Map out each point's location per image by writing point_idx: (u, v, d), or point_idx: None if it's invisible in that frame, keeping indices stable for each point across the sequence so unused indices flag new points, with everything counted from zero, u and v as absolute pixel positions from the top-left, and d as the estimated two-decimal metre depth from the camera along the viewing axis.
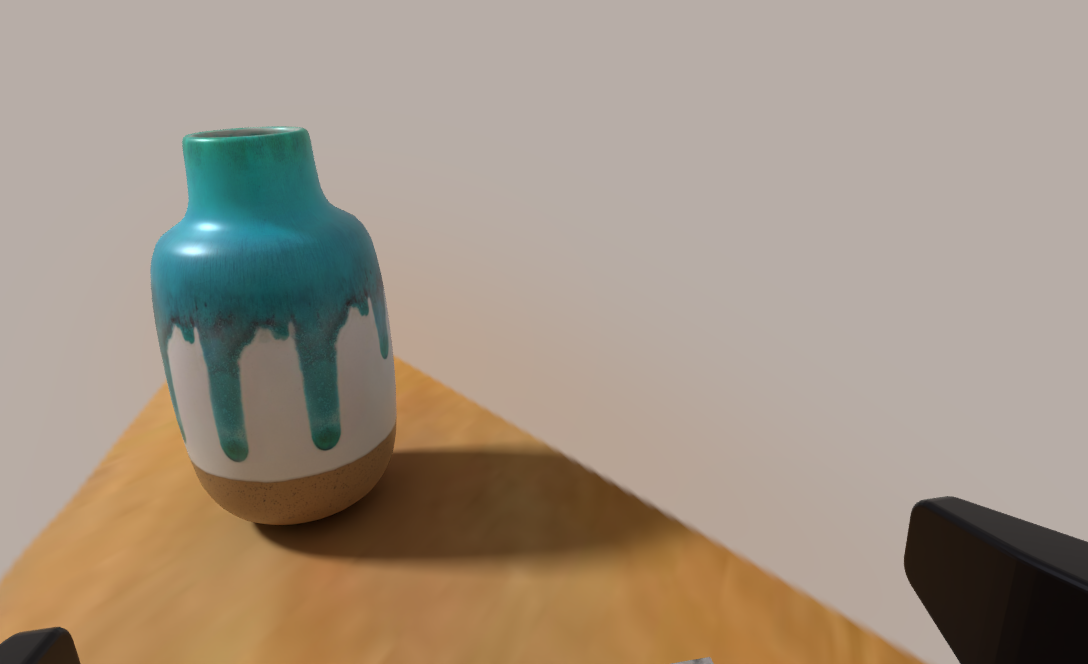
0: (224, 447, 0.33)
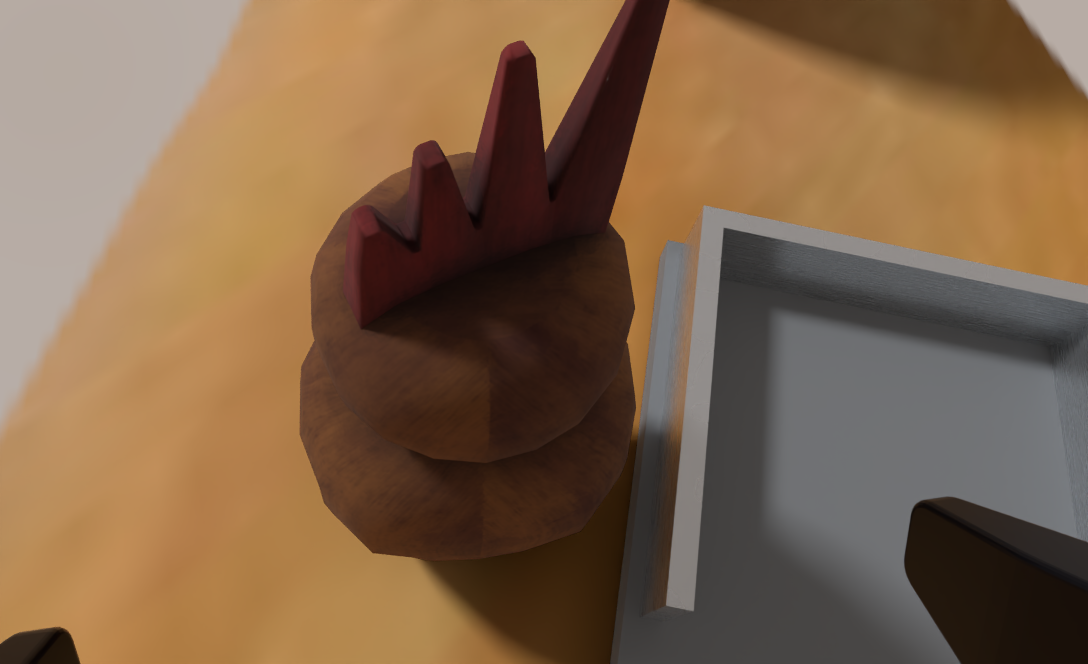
0: None
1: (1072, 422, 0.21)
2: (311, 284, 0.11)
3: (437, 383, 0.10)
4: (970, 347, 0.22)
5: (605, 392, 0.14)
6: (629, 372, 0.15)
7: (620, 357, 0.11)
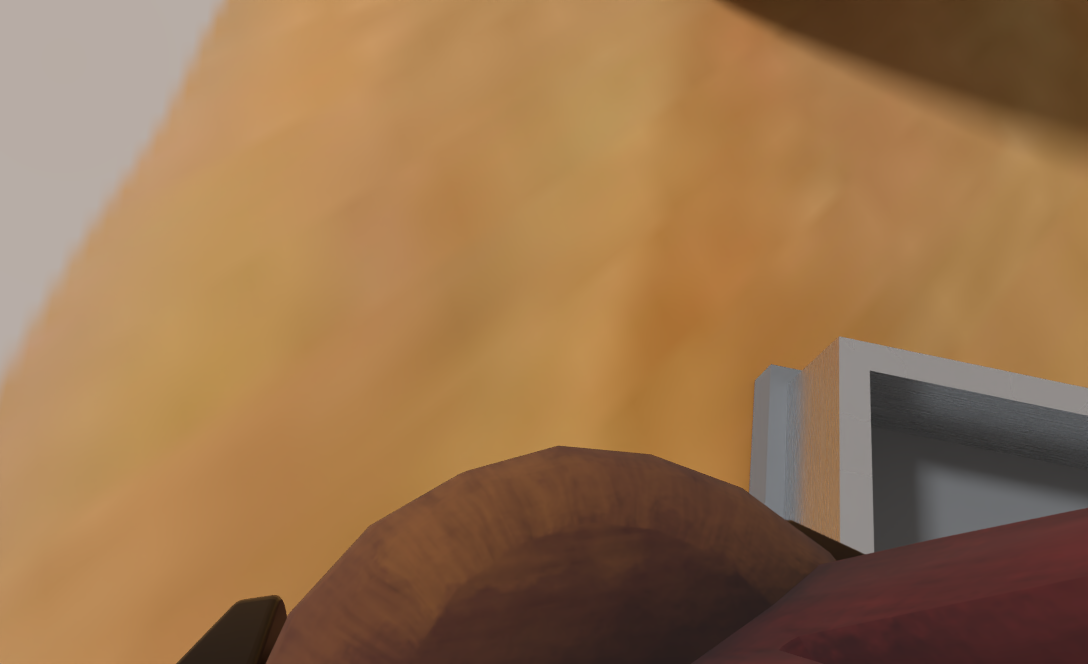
0: None
1: None
2: None
3: None
4: None
5: None
6: None
7: None
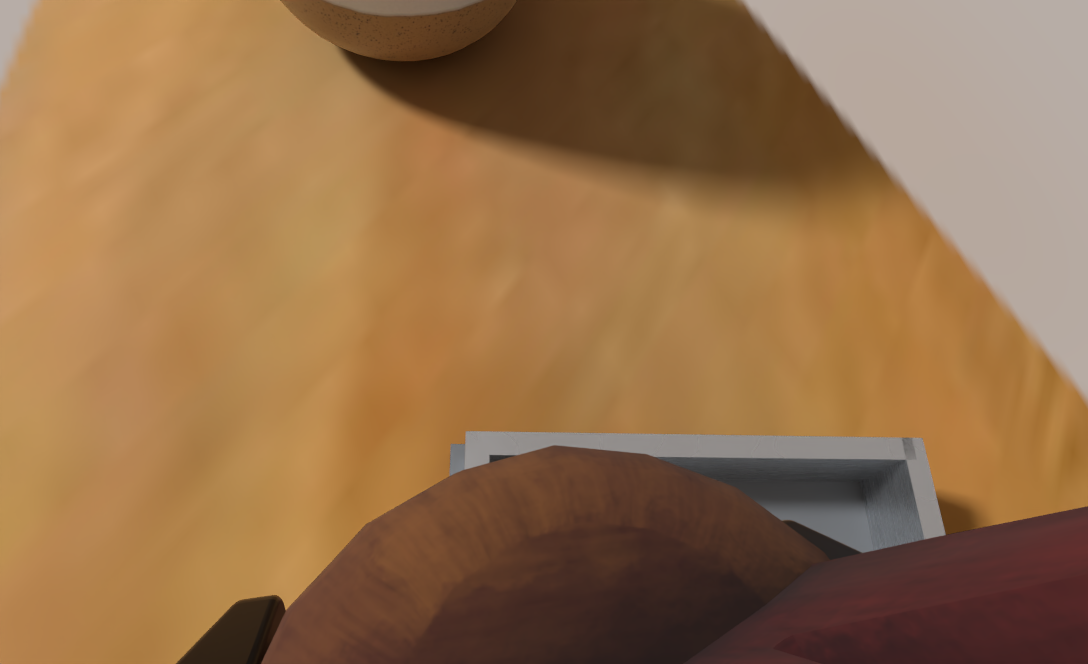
0: None
1: None
2: None
3: None
4: (780, 501, 0.21)
5: None
6: None
7: None
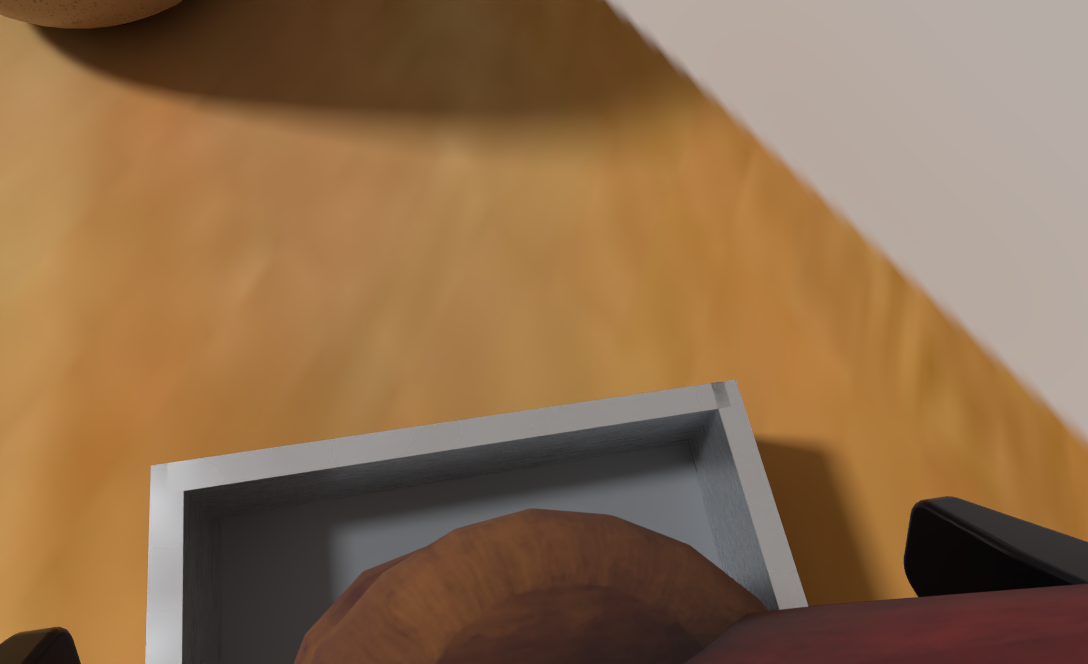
0: None
1: (722, 546, 0.17)
2: None
3: None
4: (594, 481, 0.18)
5: None
6: None
7: None
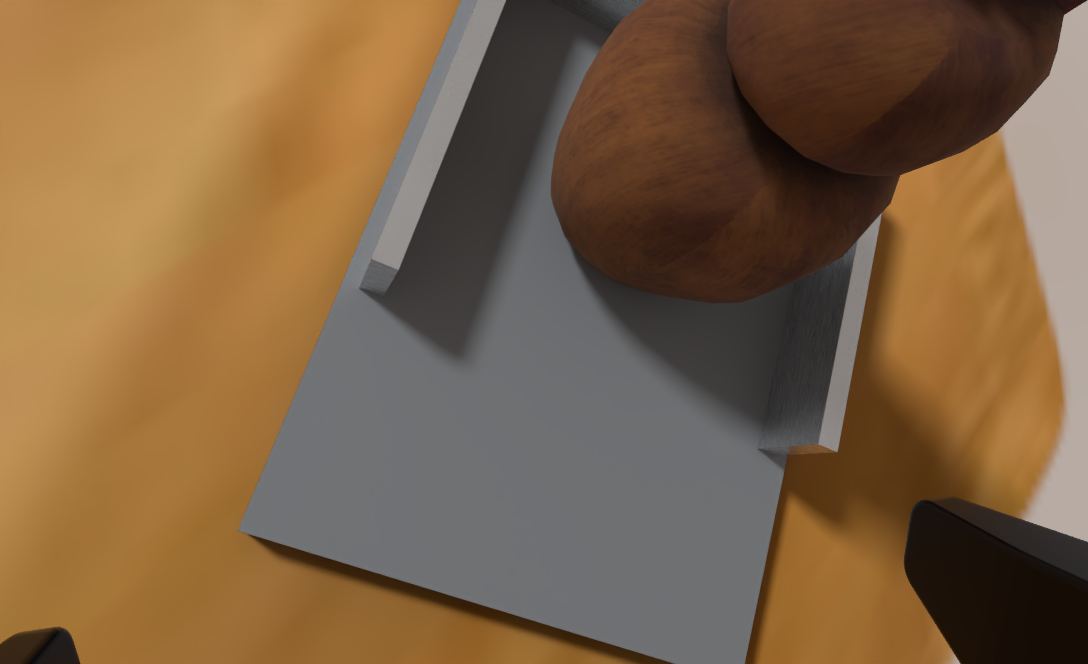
0: None
1: None
2: None
3: (899, 35, 0.10)
4: None
5: (887, 182, 0.14)
6: (896, 185, 0.15)
7: (996, 131, 0.12)
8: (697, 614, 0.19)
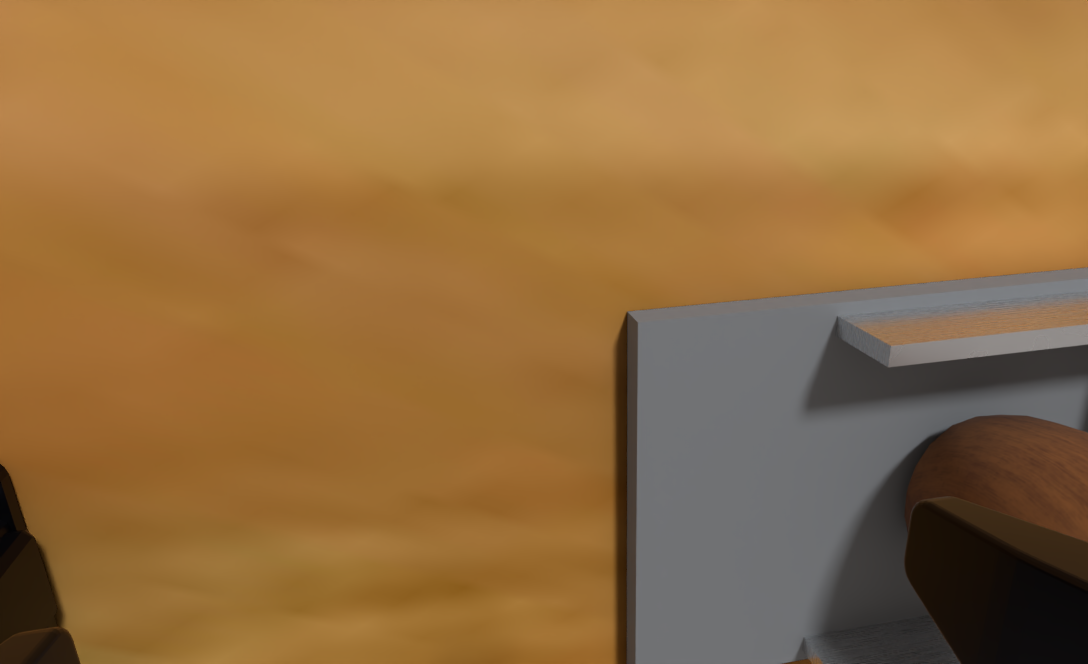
0: None
1: None
2: None
3: None
4: None
5: None
6: None
7: None
8: (673, 643, 0.24)
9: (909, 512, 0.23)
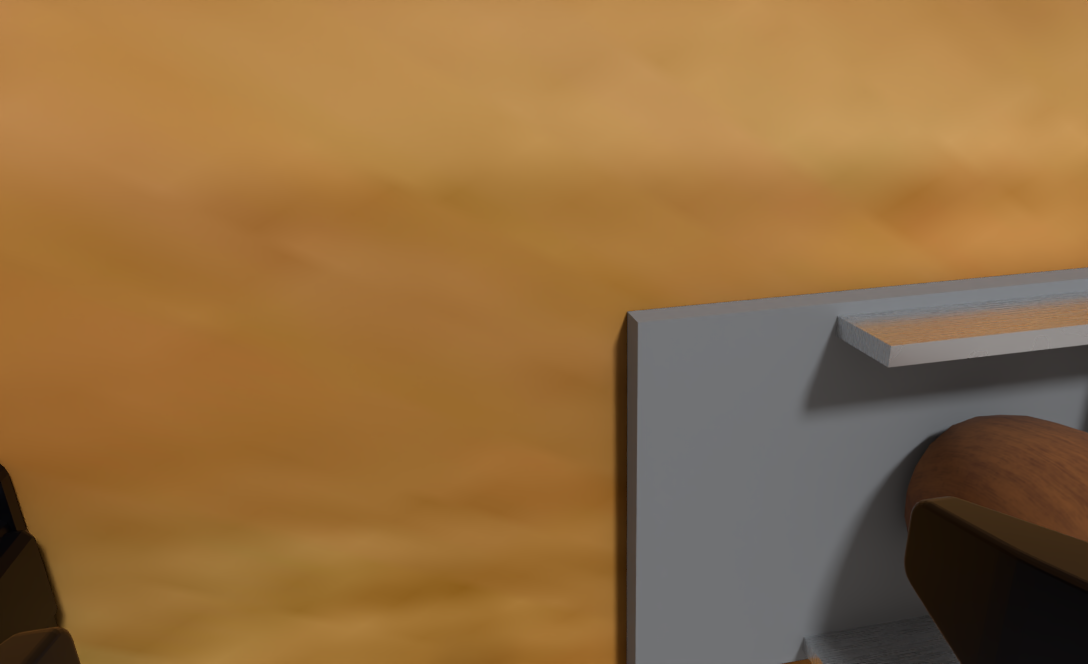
0: None
1: None
2: None
3: None
4: None
5: None
6: None
7: None
8: (673, 643, 0.24)
9: (909, 512, 0.23)
